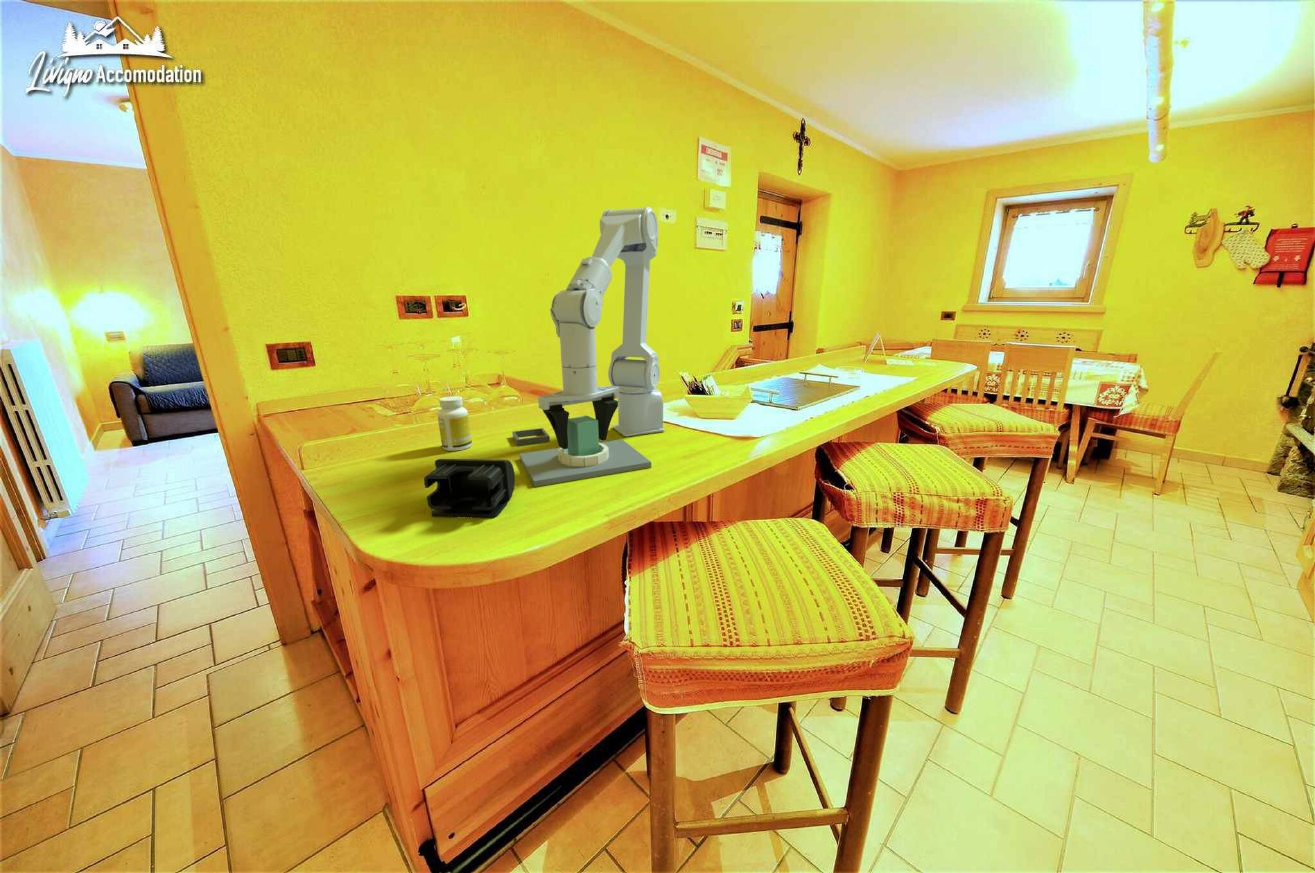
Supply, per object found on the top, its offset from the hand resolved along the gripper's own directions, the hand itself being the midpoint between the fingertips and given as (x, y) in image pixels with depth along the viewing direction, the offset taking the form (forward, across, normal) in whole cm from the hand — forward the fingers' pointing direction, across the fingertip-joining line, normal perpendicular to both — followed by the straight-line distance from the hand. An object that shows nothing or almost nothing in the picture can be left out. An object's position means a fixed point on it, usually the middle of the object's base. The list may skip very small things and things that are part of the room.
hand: (583, 443), depth 80 cm
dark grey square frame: (+4, +2, -19) cm, 19 cm away
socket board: (+4, 0, 0) cm, 4 cm away
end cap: (+4, +21, +5) cm, 22 cm away
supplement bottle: (+4, +15, -23) cm, 28 cm away
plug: (+3, 0, 0) cm, 3 cm away
